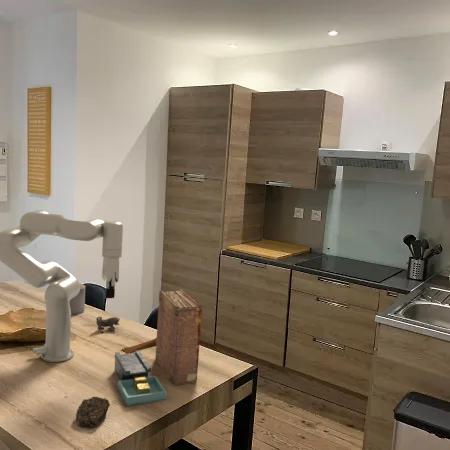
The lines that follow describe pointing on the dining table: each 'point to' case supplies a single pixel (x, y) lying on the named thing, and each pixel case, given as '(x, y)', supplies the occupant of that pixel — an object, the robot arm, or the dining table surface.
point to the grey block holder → (131, 365)
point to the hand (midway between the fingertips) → (109, 297)
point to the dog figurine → (107, 323)
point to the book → (178, 336)
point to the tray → (133, 399)
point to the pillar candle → (78, 301)
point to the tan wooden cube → (143, 388)
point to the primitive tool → (139, 346)
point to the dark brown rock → (92, 411)
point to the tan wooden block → (139, 380)
